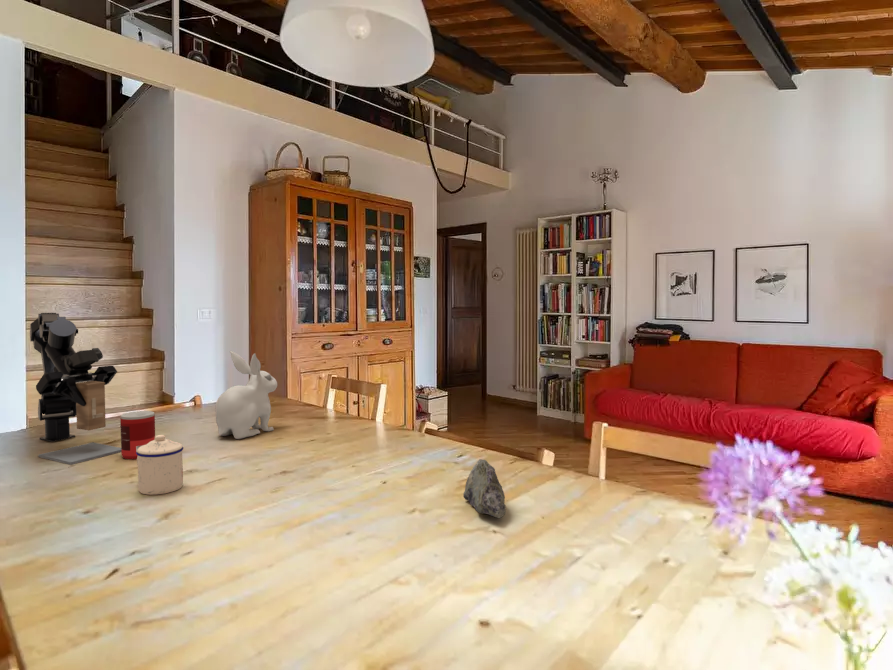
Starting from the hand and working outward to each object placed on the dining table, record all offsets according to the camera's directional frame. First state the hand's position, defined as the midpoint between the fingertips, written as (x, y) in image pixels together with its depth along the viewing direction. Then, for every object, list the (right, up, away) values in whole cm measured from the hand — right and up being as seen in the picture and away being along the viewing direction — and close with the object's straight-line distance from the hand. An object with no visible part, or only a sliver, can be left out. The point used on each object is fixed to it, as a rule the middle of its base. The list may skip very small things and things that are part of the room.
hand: (94, 403), depth 148 cm
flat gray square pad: (-3, -13, 0) cm, 14 cm away
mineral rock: (+100, -17, -36) cm, 107 cm away
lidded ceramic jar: (+29, -16, -25) cm, 41 cm away
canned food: (+12, -14, -1) cm, 18 cm away
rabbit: (+32, -12, +24) cm, 42 cm away
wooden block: (-1, -7, +1) cm, 7 cm away
